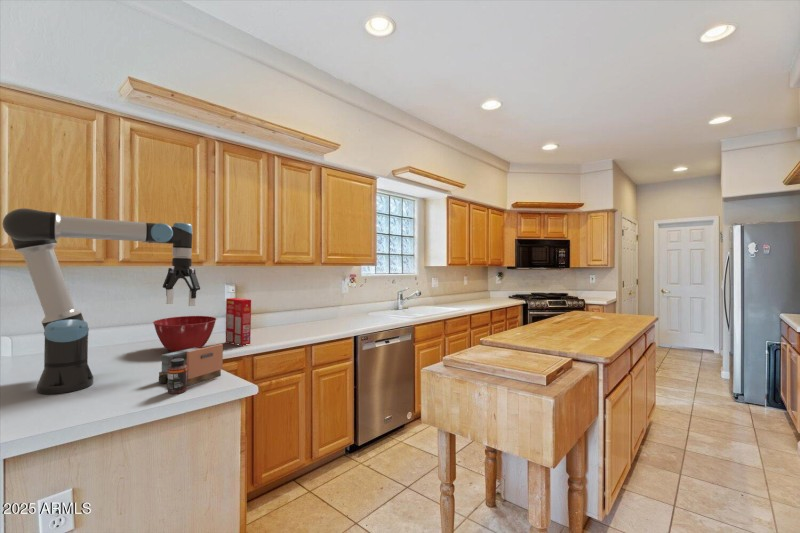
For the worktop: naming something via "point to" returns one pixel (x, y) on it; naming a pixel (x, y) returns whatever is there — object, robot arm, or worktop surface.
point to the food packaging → (238, 321)
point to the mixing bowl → (184, 331)
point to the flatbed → (183, 354)
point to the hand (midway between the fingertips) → (180, 304)
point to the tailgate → (204, 361)
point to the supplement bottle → (177, 376)
